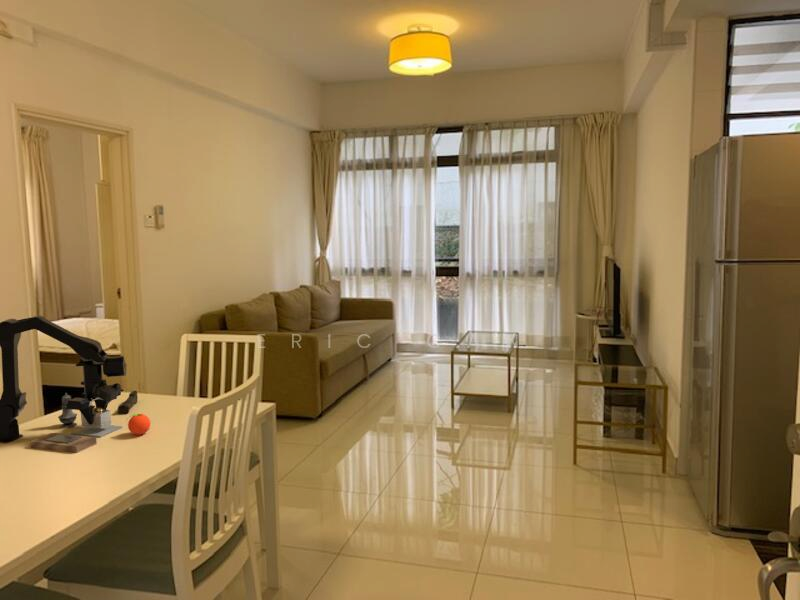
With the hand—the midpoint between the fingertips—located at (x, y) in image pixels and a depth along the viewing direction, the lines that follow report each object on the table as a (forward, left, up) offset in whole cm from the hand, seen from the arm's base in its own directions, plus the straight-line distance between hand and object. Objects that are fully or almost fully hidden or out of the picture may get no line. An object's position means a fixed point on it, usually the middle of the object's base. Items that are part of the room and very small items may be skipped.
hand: (96, 422), depth 203 cm
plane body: (0, -14, -3) cm, 14 cm away
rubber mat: (0, 0, -3) cm, 3 cm away
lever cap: (0, 0, -1) cm, 1 cm away
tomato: (+16, +1, -3) cm, 16 cm away
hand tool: (-8, +26, -4) cm, 27 cm away
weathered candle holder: (-14, +2, -3) cm, 14 cm away
